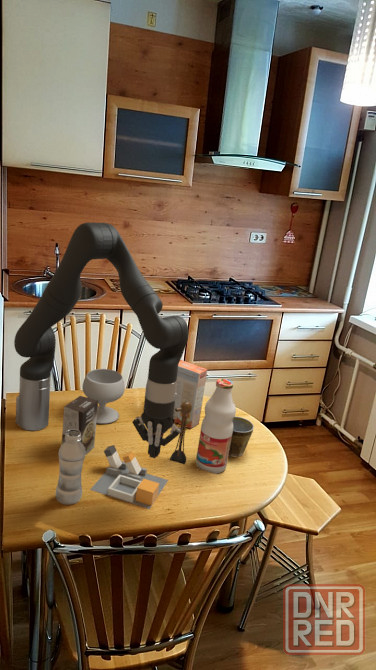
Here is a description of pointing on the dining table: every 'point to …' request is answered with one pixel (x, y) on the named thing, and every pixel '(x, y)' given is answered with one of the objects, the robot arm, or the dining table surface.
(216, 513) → the dining table surface
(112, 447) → the breaker
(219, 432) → the fruit juice
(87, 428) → the coffee box
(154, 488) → the orange cube
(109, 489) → the panel
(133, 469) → the block
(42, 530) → the dining table surface
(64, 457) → the plastic bottle
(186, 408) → the wooden tabletop sculpture
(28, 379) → the robot arm
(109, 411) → the chalice
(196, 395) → the cracker box
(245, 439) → the ceramic cup
